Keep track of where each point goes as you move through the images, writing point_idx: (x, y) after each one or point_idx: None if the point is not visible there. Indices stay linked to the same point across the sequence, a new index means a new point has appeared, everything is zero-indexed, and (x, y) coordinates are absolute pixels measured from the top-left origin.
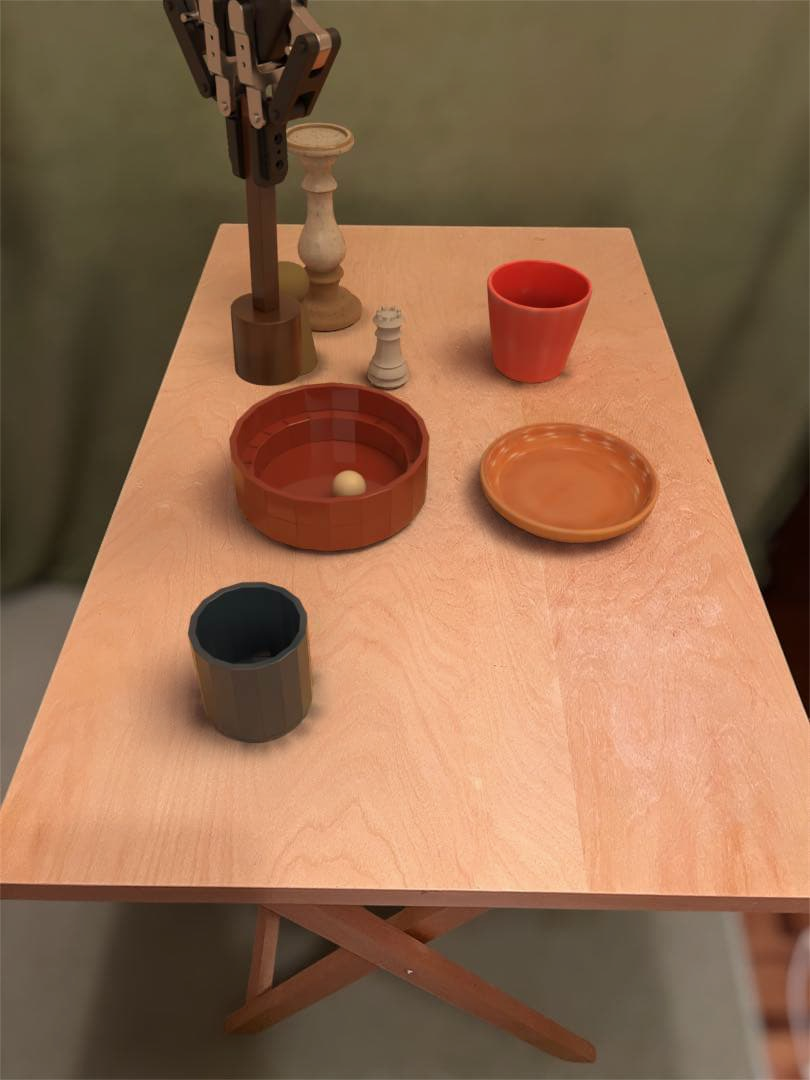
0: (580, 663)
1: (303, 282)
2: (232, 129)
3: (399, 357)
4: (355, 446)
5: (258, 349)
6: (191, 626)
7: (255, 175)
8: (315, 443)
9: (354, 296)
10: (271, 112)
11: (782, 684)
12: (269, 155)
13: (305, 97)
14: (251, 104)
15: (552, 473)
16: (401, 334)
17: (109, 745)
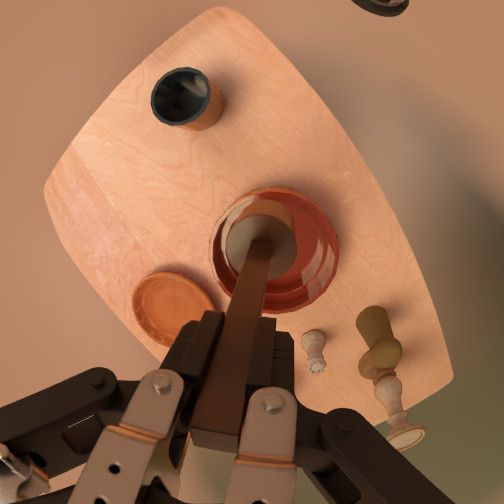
0: (112, 220)
1: (372, 358)
2: (259, 370)
3: (306, 350)
4: (287, 280)
5: (246, 211)
6: (201, 74)
7: (211, 317)
8: (308, 269)
9: (368, 378)
10: (99, 383)
11: (72, 258)
12: (176, 345)
13: (92, 427)
14: (164, 406)
15: (186, 317)
16: (307, 361)
17: (233, 48)
